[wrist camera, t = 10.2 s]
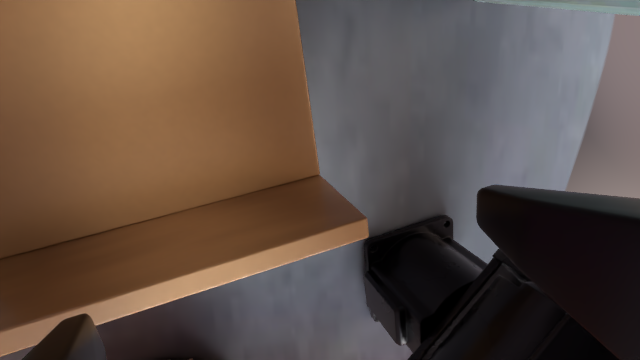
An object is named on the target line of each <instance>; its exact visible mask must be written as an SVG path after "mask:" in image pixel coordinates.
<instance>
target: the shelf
mask: <svg viewBox="0 0 640 360" xmlns="http://www.w3.org/2000/svg"><path fill="white" fill-rule="evenodd" d="M319 174H320V171H319V164H318V157H317V150H316V142H315V135H314V128H313V121H312V114H311V107H310V100H309V92H308V85H307V78H306V71H305V64H304V57H303V50H302V43H301V35H300V28H299V21H298V14H297V7H296V0H0V357H1V356H4V355H7V354H10V353H13V352H16V351H19V350H22V349H25V348H29V347H32V346H35V345H37V344H38V343H39V342H41V341H42V340H43V339H44V338H45V337H46V336H47V335H48V334H49V333H50V332H51V331H52V330H53V329H54V328H55V327H56V326H57V325H58V324H59V323H60V322H61V321H62V320H64V319H67V318H70V317H73V316H76V315H80V314H83V313H86V314H88V315H89V316H90V317H91V318H92V320H93V322H94V325H95V326H97V325H100V324H103V323H106V322H109V321H112V320H115V319H118V318H121V317H124V316H127V315H131V314H134V313H137V312H140V311H143V310H146V309H149V308H152V307H155V306H158V305H161V304H165V303H168V302H171V301H174V300H177V299H180V298H183V297H186V296H189V295H192V294H195V293H199V292H202V291H205V290H208V289H211V288H214V287H217V286H220V285H223V284H226V283H229V282H233V281H236V280H239V279H242V278H245V277H248V276H251V275H254V274H257V273H260V272H263V271H266V270H270V269H273V268H276V267H279V266H282V265H285V264H288V263H291V262H294V261H297V260H300V259H304V258H307V257H310V256H313V255H316V254H319V253H322V252H325V251H328V250H331V249H334V248H338V247H341V246H344V245H347V244H350V243H353V242H356V241H359V240H362V239H365V238H368V237H369V232H368V221H367V217H365V216H364V215H363V214H362V213H361V212H360V211H359V210H358V209H357V208H356V207H354V206H353V205H352V204H351V203H350V202H349V201H348V200H347V199H346V198H344V197H343V196H342V195H341V194H340V193H339V192H338V191H337V190H336V189H335V188H333V187H332V186H331V185H330V184H329V183H328V182H327V181H326V180H325V179H323V178H322V177H321V176H320V175H319Z"/></svg>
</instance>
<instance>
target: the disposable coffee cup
mask: <svg viewBox="0 0 640 360" xmlns="http://www.w3.org/2000/svg"><path fill="white" fill-rule="evenodd" d="M475 1H479V2H488V3H499V4H510V5H522V6H533V7H544V8H556V9H567V10H578V11H590V12H601V13H612V14H624V15H635V16H640V0H475Z"/></svg>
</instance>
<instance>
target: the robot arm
mask: <svg viewBox="0 0 640 360" xmlns="http://www.w3.org/2000/svg"><path fill="white" fill-rule="evenodd" d="M476 218H477V223H478V225H479V227H480V228H481V229H482V230H483V231H484V232H485V233H486V235H487V236H488V237H489V238H490V239H491V240H492V241H493V242H494V243H495V244H496V245H497V246H498V247H499V249H498V250H497V251H496V252H495V254H494V255H493V257H494V258H493V259H492V260H491V261H490V262H489V263H488V264H487V263H485V262H484V261H482V260H481V259H480V258H478V257H477V256H475V255H474V254H473V253H471V252H470V251H468V250H467V249H466V248H464V247H463V246H461V245H460V244H459V243H457V242H456V241H454V240H453V220H452V219H451V218H450V217H449V216H447V215H443V216H439V217H436V218H433V219H430V220H427V221H424V222H421V223H418V224H415V225H412V226H409V227H406V228H403V229H399V230H396V231H393V232H390V233H387V234H384V235H381V236H378V237H375V238H372V239H369V240H368V241H367V242H366V243H365V245H364V252H365V261H366V272H365V274H364V282H365V292H366V301H367V305H368V307H369V308H370V311H371V317H372V318H373V319H374V321H376V322H380V323H381V324H382V325H383V327H384V328H385V329H386V331H387V332H388V333H389V335H390V336H391V337H392V339H393V340H394V341H395V343H396V344H398V345H400V346H401V345H404V344H406V345H407V346H408V347H409V348H410V350H411V351H412V352H413V354H412V355H411V356H410V357H409V358H408V360H640V199H639V198H628V197H618V196H607V195H597V194H587V193H576V192H566V191H556V190H545V189H535V188H525V187H514V186H504V185H491V186H487V187H484V188H481V189H480V190H479V191H478V193H477V215H476ZM445 222H446V223H445ZM444 223H445V224H444ZM373 245H374V247H373V248H372V249H371V247H372V246H373ZM22 360H106V352H105V348H104V345H103V342H102V340H101V338H100V336H99V334H98V331H97V329H96V327H95V325H94V322H93V320H92V318H91V317H90V316H89V315H88V314H86V313H83V314H80V315H76V316H73V317H70V318H67V319H64V320H62V321H61V322H60V323H59V324H58V325H57V326H56V327H55V328H54V329H53V330H52V331H51V332H50V333H49V334H48V335H47V336H46V337H45V338H44V339H43V340H42V341H41V342H39V343H38V344H37V345H36V346H35V347H34V348H33V349H32V350H31V351H30V352H29V353H28V354H27V355H26V356H25V357H24V358H23V359H22Z"/></svg>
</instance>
